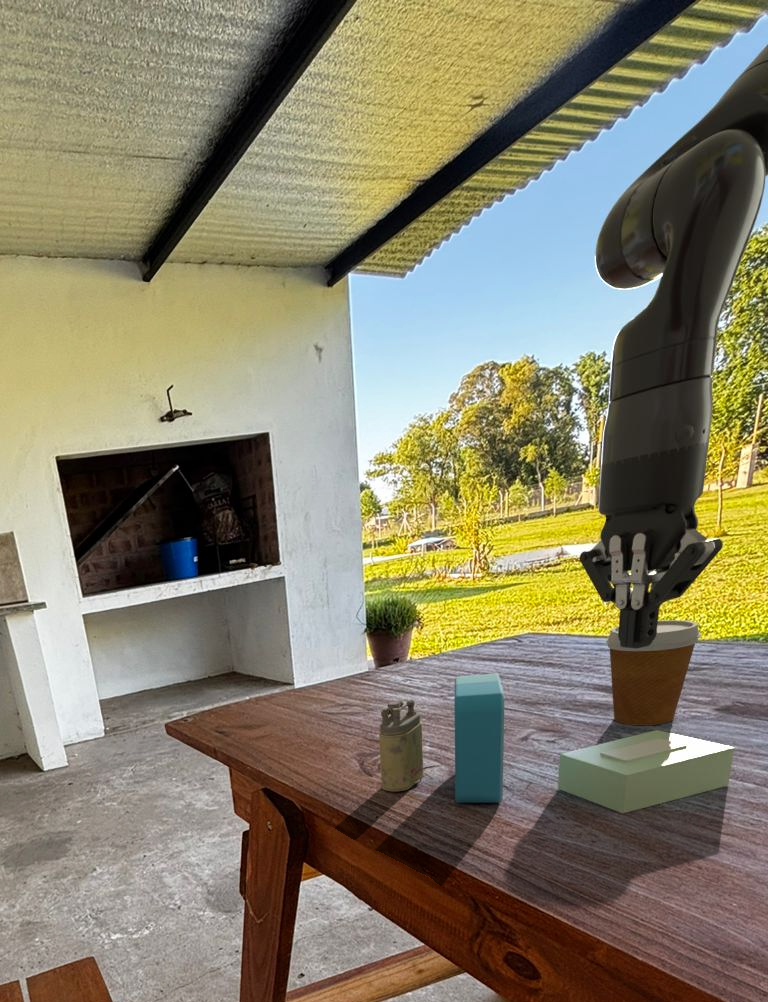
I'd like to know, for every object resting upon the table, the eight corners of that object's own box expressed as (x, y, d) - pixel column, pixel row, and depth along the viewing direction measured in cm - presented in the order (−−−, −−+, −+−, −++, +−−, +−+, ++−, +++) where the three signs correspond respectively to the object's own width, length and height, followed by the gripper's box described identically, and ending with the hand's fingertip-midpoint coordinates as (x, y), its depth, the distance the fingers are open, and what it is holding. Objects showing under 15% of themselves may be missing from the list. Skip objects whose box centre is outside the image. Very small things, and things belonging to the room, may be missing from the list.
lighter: (401, 771, 79) (398, 695, 75) (431, 773, 76) (429, 695, 73) (376, 790, 74) (371, 711, 71) (407, 794, 72) (403, 712, 68)
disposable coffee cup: (582, 719, 85) (588, 631, 81) (642, 705, 86) (651, 617, 82) (643, 734, 76) (654, 637, 72) (710, 718, 77) (724, 621, 73)
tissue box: (657, 728, 66) (735, 745, 59) (653, 764, 68) (728, 785, 60) (559, 752, 65) (626, 773, 57) (557, 788, 66) (622, 813, 59)
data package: (455, 769, 76) (454, 674, 72) (496, 768, 74) (498, 670, 70) (455, 807, 66) (454, 699, 62) (502, 807, 64) (505, 696, 60)
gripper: (771, 424, 48) (738, 644, 55) (625, 457, 61) (611, 634, 67) (689, 440, 48) (665, 661, 54) (557, 470, 60) (550, 648, 66)
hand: (635, 646), depth 60 cm, fingers closed
